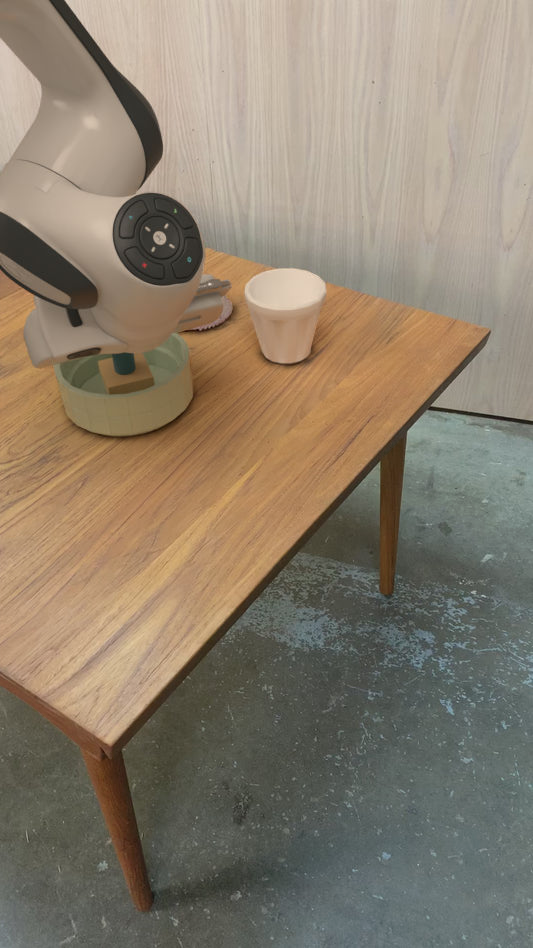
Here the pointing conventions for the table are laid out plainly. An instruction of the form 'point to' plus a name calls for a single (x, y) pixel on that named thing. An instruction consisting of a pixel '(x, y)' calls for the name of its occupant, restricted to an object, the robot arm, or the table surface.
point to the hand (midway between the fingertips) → (119, 341)
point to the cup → (285, 312)
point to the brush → (125, 373)
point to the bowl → (132, 409)
